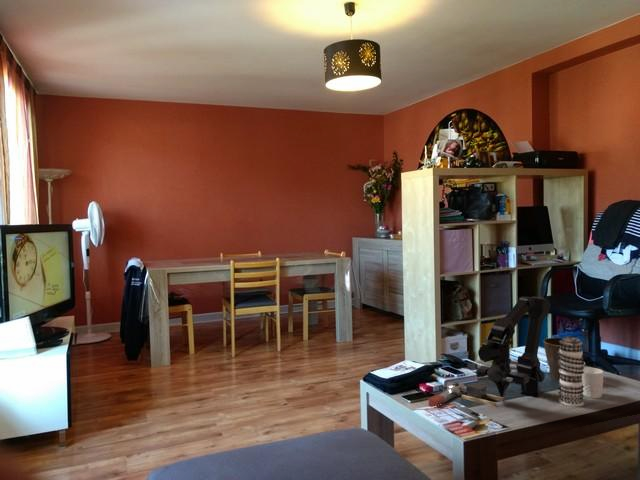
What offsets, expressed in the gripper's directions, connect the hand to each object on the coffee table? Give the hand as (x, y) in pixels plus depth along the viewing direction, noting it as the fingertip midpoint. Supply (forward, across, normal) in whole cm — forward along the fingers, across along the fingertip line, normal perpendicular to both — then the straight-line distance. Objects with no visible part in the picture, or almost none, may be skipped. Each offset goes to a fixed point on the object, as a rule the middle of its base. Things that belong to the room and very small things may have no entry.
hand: (502, 396), depth 194 cm
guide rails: (+3, -8, 0) cm, 9 cm away
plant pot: (+3, +7, +46) cm, 47 cm away
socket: (+3, -11, 0) cm, 11 cm away
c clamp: (+4, -14, +47) cm, 50 cm away
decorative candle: (+3, +19, +18) cm, 27 cm away
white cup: (+3, +23, +31) cm, 39 cm away
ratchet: (+3, -16, -7) cm, 18 cm away
